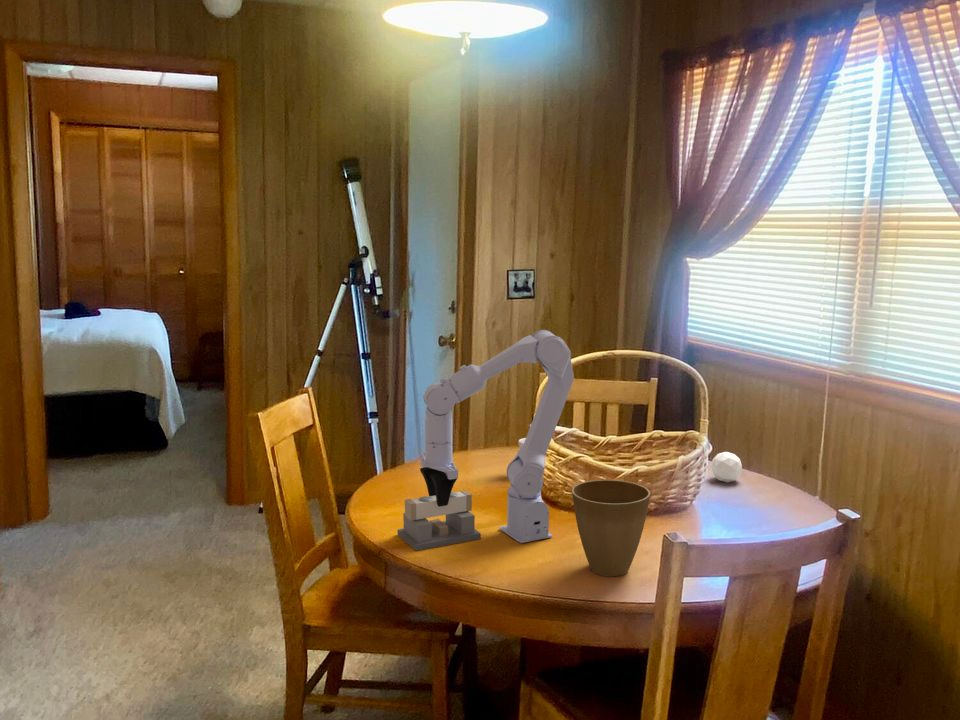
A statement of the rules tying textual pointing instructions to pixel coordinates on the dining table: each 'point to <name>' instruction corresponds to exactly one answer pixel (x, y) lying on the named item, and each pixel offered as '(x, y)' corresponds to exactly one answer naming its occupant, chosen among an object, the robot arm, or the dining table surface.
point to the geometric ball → (726, 467)
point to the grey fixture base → (439, 531)
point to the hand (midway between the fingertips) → (438, 502)
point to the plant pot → (610, 522)
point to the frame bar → (429, 507)
